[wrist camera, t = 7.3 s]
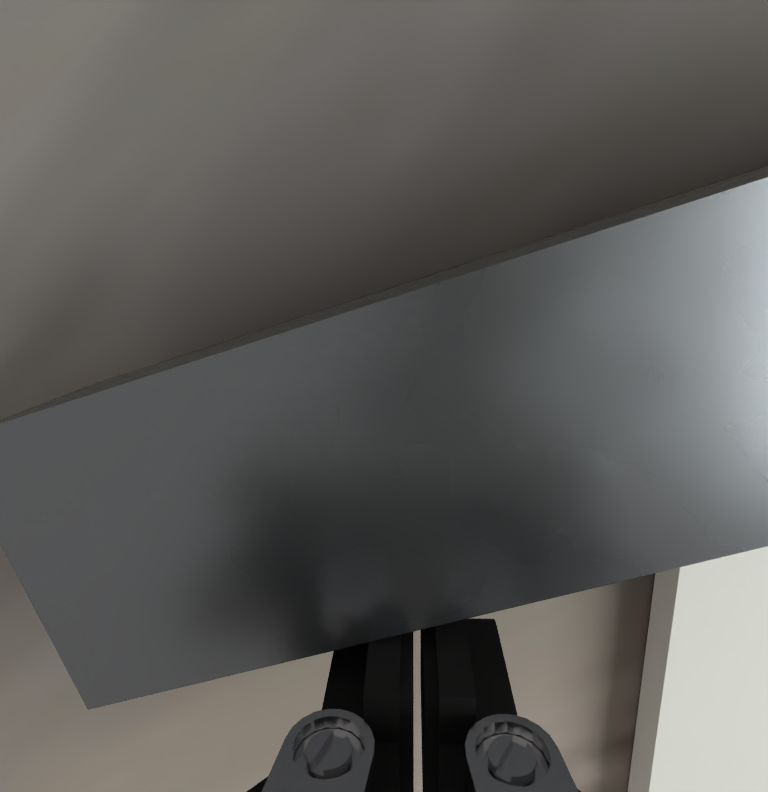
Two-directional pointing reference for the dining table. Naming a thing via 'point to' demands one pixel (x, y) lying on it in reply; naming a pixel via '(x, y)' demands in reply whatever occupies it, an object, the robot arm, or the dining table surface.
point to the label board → (705, 680)
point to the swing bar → (407, 454)
